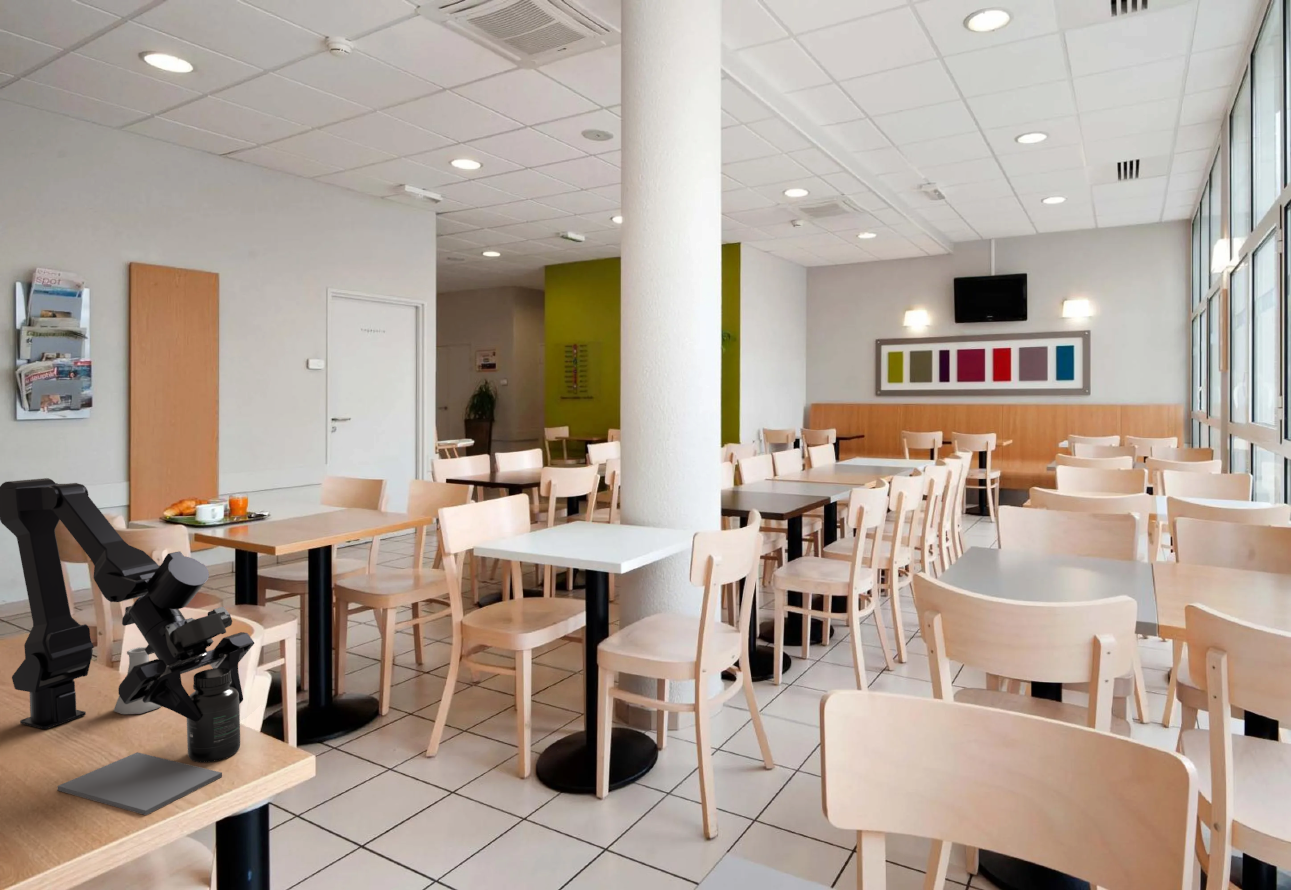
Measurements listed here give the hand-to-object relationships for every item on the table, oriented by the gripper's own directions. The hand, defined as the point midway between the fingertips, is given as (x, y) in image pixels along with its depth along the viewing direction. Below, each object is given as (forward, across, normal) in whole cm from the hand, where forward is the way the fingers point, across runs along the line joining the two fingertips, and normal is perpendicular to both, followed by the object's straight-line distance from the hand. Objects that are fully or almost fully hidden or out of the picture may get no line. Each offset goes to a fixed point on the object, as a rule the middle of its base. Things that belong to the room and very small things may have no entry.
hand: (220, 710), depth 116 cm
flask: (-15, +8, +25) cm, 30 cm away
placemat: (+3, -10, +6) cm, 13 cm away
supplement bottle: (+4, 0, +6) cm, 7 cm away
